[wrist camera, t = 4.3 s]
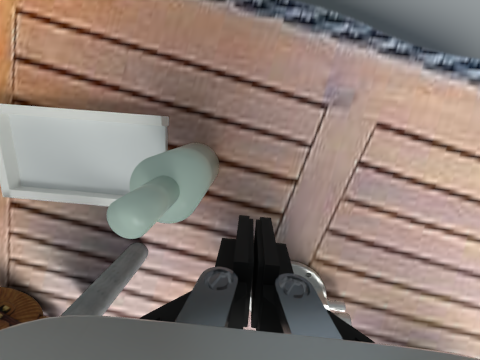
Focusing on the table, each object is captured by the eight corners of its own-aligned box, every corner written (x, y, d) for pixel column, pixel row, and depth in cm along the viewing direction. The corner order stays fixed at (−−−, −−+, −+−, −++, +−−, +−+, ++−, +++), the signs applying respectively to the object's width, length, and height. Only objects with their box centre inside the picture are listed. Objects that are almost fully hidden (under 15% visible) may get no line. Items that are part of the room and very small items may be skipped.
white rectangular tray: (168, 116, 30) (161, 116, 27) (169, 204, 33) (163, 211, 31) (4, 103, 31) (-18, 102, 28) (20, 191, 34) (3, 196, 32)
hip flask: (136, 238, 35) (-6, 382, 16) (156, 255, 36) (41, 414, 16) (81, 295, 38) (-92, 470, 19) (99, 309, 39) (-50, 493, 20)
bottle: (220, 144, 30) (178, 174, 13) (218, 188, 32) (177, 267, 15) (174, 140, 31) (73, 165, 13) (174, 184, 32) (84, 258, 15)
